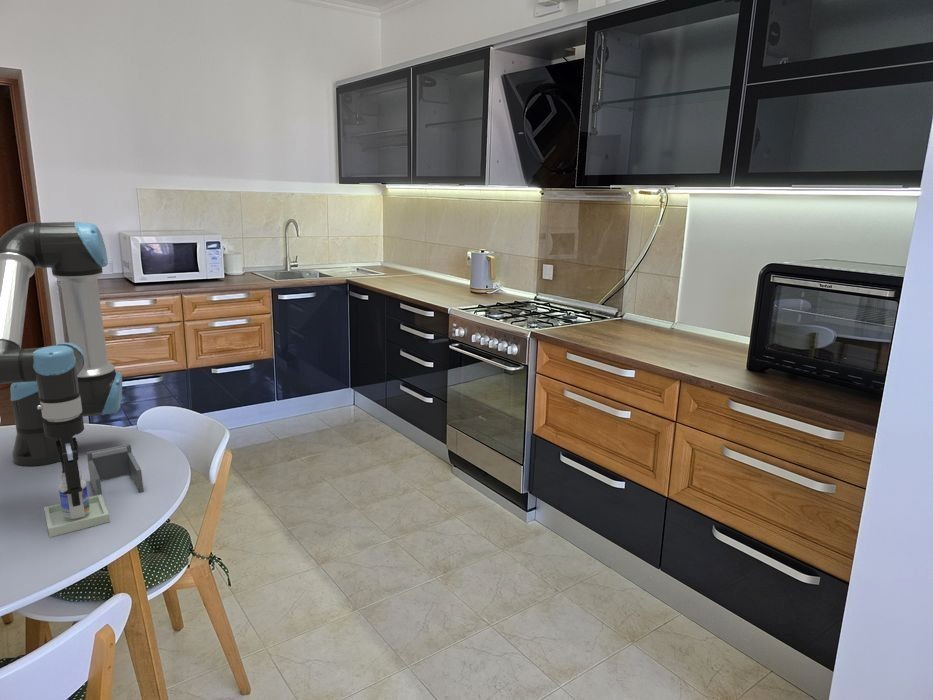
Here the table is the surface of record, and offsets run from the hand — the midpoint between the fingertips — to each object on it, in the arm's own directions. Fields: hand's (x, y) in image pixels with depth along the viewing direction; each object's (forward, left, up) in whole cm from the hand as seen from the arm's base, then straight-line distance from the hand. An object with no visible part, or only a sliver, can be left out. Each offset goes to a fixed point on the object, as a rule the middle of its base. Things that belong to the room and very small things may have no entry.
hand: (76, 511), depth 146 cm
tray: (0, 0, -2) cm, 2 cm away
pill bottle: (0, 0, -1) cm, 1 cm away
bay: (-13, +10, -2) cm, 16 cm away
